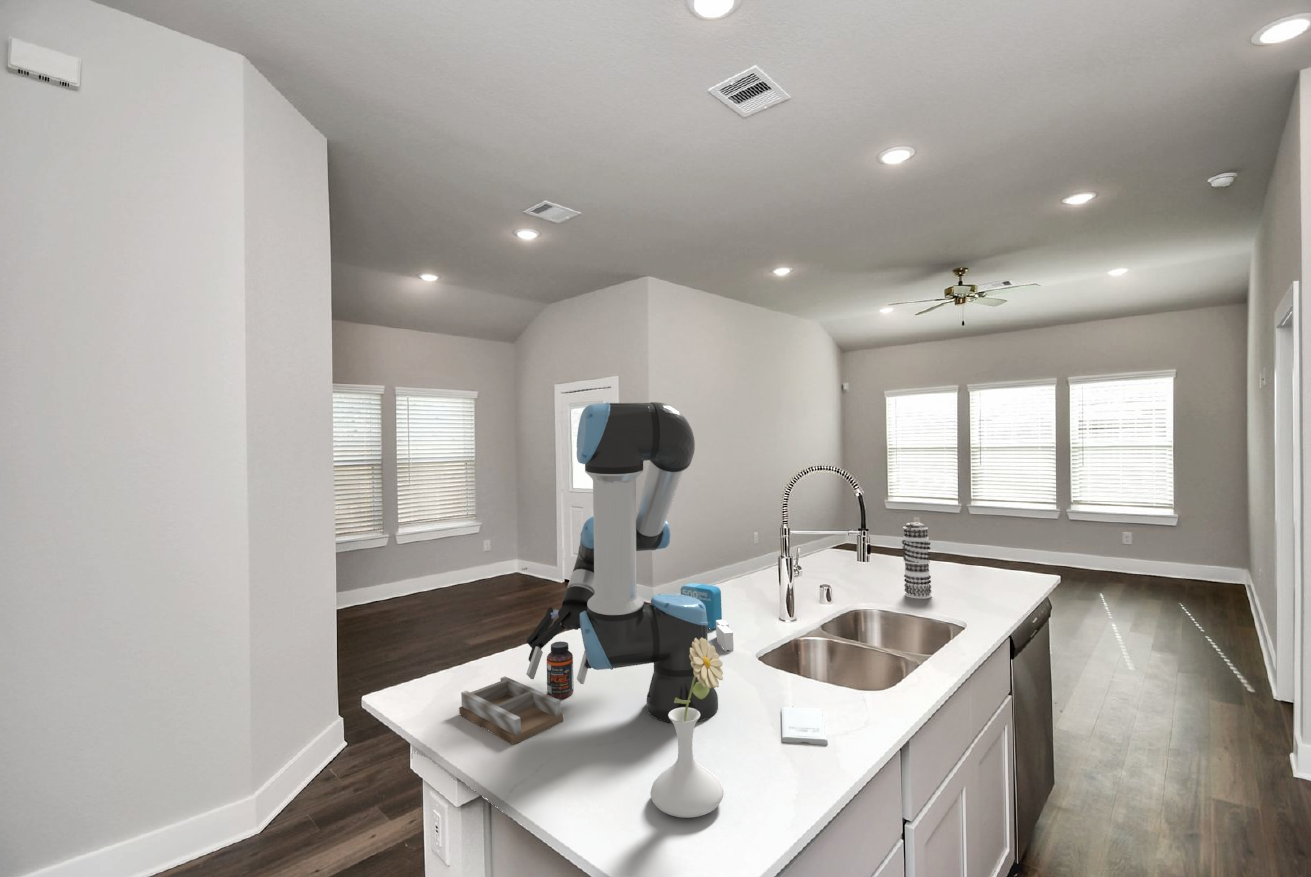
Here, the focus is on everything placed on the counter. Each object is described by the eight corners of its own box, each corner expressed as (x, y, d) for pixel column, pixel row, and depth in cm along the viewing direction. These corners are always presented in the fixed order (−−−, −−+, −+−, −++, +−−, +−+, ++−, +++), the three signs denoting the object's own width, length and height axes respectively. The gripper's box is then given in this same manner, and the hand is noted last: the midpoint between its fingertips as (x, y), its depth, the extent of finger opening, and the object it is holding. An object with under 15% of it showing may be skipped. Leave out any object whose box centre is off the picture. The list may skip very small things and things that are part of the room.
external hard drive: (822, 716, 120) (828, 747, 108) (781, 714, 122) (782, 744, 110) (822, 708, 120) (827, 738, 108) (781, 706, 122) (781, 736, 110)
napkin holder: (736, 656, 154) (736, 635, 154) (696, 651, 160) (696, 630, 160) (754, 638, 168) (753, 618, 168) (716, 634, 173) (716, 614, 173)
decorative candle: (904, 598, 202) (902, 525, 202) (902, 591, 210) (900, 521, 210) (934, 599, 199) (931, 525, 199) (930, 592, 207) (928, 521, 208)
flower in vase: (681, 837, 84) (675, 662, 84) (636, 799, 94) (631, 641, 94) (747, 801, 92) (741, 641, 92) (699, 770, 101) (694, 624, 101)
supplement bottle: (548, 701, 130) (547, 650, 130) (546, 690, 136) (544, 641, 136) (575, 697, 132) (574, 646, 132) (572, 686, 138) (570, 638, 138)
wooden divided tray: (563, 721, 121) (562, 699, 121) (513, 745, 112) (512, 721, 112) (508, 695, 134) (507, 675, 134) (459, 714, 125) (458, 693, 125)
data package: (681, 624, 182) (679, 585, 182) (689, 620, 186) (688, 582, 186) (714, 630, 175) (713, 590, 175) (722, 626, 178) (721, 586, 178)
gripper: (631, 602, 145) (609, 691, 130) (543, 598, 152) (514, 681, 138) (622, 586, 140) (599, 676, 125) (532, 582, 147) (500, 667, 133)
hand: (554, 679), depth 132 cm, fingers open, 12 cm apart
